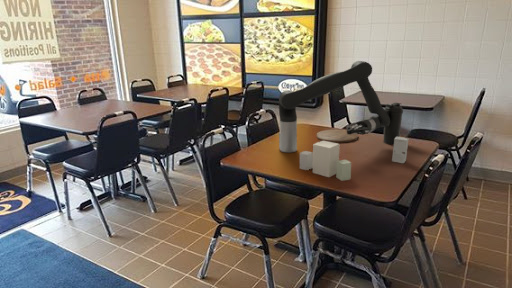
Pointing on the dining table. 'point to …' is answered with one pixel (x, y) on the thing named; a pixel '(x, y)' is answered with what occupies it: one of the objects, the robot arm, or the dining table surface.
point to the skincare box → (400, 149)
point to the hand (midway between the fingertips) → (348, 132)
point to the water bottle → (393, 122)
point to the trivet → (336, 136)
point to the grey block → (306, 160)
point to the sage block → (343, 170)
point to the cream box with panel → (325, 158)
